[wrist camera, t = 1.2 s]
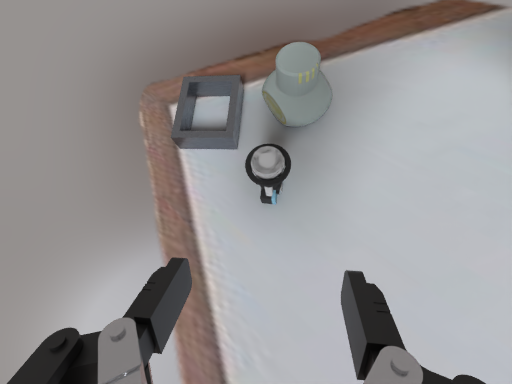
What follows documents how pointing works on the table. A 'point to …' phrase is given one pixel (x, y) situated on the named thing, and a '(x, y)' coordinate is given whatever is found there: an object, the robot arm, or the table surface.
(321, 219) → the table surface
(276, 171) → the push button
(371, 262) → the table surface
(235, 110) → the square socket
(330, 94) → the air freshener
